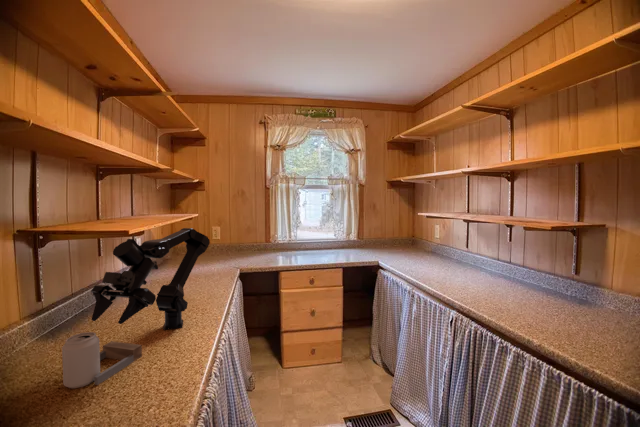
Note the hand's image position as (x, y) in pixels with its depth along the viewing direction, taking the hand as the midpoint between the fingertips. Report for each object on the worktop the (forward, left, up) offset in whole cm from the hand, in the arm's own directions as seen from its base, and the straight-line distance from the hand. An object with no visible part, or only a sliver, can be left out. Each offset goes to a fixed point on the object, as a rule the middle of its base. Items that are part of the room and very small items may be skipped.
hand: (106, 322), depth 82 cm
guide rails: (+1, -1, -13) cm, 13 cm away
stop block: (-4, +3, -13) cm, 14 cm away
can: (+6, -4, -13) cm, 15 cm away
